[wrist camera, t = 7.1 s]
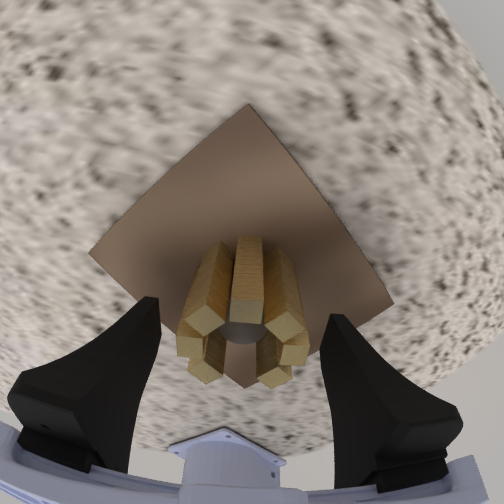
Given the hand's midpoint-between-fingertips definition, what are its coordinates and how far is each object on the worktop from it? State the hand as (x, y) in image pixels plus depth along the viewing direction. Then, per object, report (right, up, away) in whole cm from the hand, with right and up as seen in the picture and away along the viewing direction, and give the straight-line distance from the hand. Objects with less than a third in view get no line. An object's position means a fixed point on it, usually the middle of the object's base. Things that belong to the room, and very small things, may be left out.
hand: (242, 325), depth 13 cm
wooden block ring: (0, +2, +3) cm, 3 cm away
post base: (0, +2, +4) cm, 5 cm away
